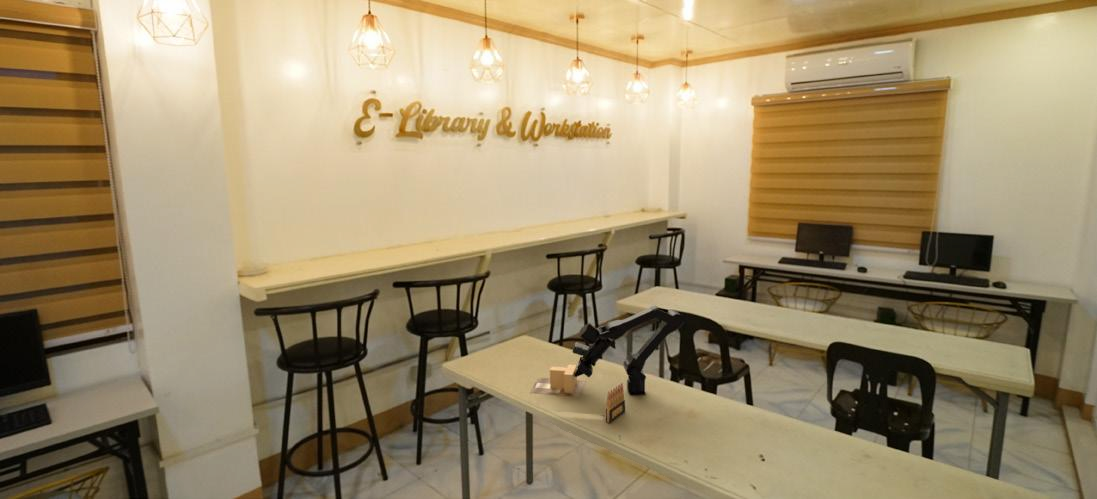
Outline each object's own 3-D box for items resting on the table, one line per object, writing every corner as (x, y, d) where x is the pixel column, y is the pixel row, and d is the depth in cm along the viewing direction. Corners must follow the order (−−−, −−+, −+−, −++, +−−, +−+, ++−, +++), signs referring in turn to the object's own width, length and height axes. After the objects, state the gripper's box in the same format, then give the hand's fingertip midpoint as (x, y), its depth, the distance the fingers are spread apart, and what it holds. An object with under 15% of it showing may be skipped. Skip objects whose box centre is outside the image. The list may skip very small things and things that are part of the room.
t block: (576, 382, 220) (576, 365, 218) (572, 393, 210) (572, 374, 209) (553, 381, 222) (553, 363, 220) (548, 391, 212) (548, 373, 211)
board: (586, 384, 222) (586, 380, 221) (580, 400, 207) (580, 396, 207) (538, 380, 226) (538, 377, 226) (529, 396, 212) (529, 392, 212)
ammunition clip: (609, 423, 189) (609, 393, 187) (605, 422, 190) (605, 391, 188) (625, 412, 197) (625, 382, 195) (621, 410, 198) (621, 381, 196)
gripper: (585, 328, 219) (563, 354, 223) (579, 345, 201) (555, 373, 205) (606, 345, 219) (583, 371, 223) (602, 363, 201) (577, 390, 205)
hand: (574, 375), depth 214 cm, fingers closed, pressing on t block
